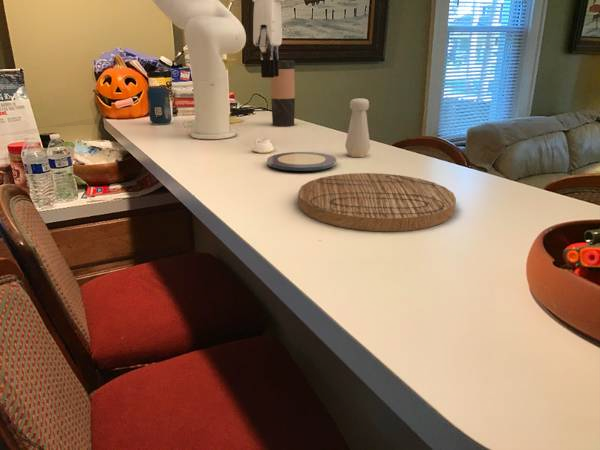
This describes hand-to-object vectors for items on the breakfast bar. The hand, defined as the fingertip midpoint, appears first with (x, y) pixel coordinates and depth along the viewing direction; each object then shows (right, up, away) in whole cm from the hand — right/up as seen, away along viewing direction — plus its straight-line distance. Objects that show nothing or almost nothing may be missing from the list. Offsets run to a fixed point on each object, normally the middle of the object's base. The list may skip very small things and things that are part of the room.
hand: (270, 76), depth 116 cm
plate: (+8, -24, -14) cm, 29 cm away
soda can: (-39, -3, +41) cm, 57 cm away
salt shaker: (+21, -21, -5) cm, 30 cm away
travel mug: (+2, -4, +38) cm, 39 cm away
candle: (-18, -1, +46) cm, 49 cm away
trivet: (+20, -34, -40) cm, 56 cm away
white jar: (-2, -19, -1) cm, 19 cm away
